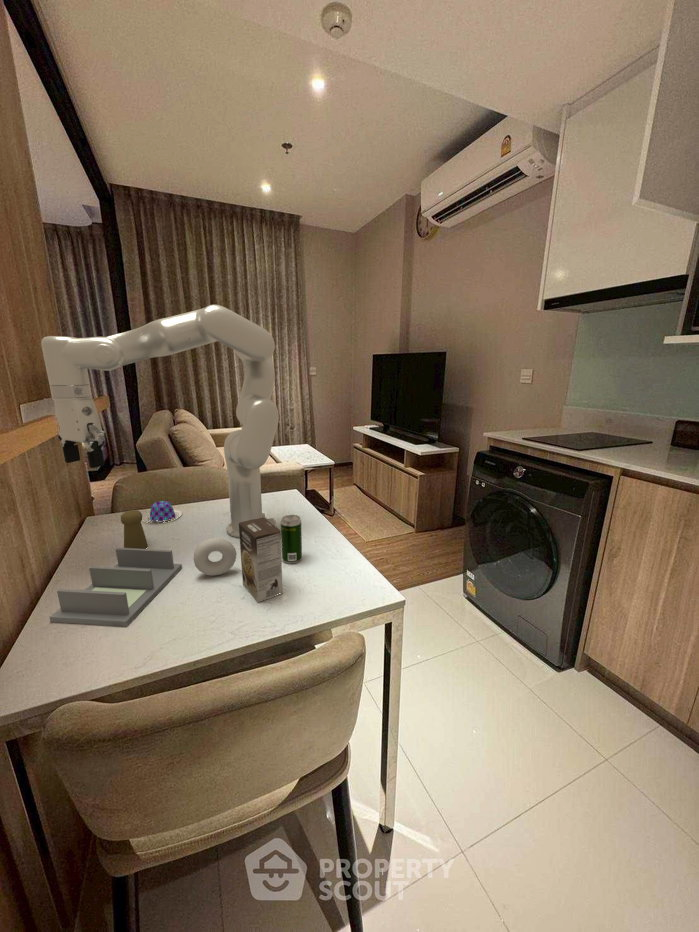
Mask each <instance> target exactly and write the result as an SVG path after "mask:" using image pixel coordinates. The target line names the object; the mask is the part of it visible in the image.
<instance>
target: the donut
mask: <svg viewBox="0 0 699 932" xmlns="http://www.w3.org/2000/svg"><path fill="white" fill-rule="evenodd" d="M236 550H237V549H236V547H235V546H234V544H233V542H231V541H230V540H228V539H226V538H224V537H211V538H207V539H205V540H203V541H202V542H200V544H198V546H197V547H196V549H195V550H194V553H193V563H194V566H195V567H196V569H197V570H198V571H199V572H201V573H202V574H204V575H208V576H219V575H223V574H225V573H226V572H228V571H230V570H231V569H232V568H233V567H234V564H235V562H236V559H237V554H238V553H237V551H236ZM214 552H219V553H220V554H221V557H222V558H220V560H217V561H213V560H211V559H210V558H209V557H210V554H211V553H214Z"/></svg>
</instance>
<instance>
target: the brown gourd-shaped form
mask: <svg viewBox="0 0 699 932" xmlns="http://www.w3.org/2000/svg"><path fill="white" fill-rule="evenodd" d="M142 522H143V514H142V512H141V511H140V510H137V509H133V510H126V511H125V512H123V513H122V514H121V515H120V523H121V524H122V525H123V548H137V549H146V548H147V547H148V548H149V543H148V540H147V538H146V535H145V531H144V527H143V525H142ZM148 548H147V549H148Z"/></svg>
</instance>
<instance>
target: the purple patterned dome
mask: <svg viewBox="0 0 699 932" xmlns="http://www.w3.org/2000/svg"><path fill="white" fill-rule="evenodd" d="M175 512H178V513H179V517H177V518H176V519H174V518H172V517H175V516H176V515H175ZM182 512H183V511H181V510H178V509H174V508H173V505H172V503H171V502H170V501H167V500H160V501H156V502H154V503H153V504H151V506H150V517H149V518H150V519H151V520H153V521H156V520H158V521H163V520H169V519H171V518H172V519H174V520H172V519H171V521H168V522H172V521H175V520H177V519H179V518H180V517H181V516H183V515H182V514H183V513H182ZM151 520H150V521H151ZM142 522H145V521H144V520H143V519H142ZM168 522H167V523H168ZM145 523H147V524H149V523H148V522H145ZM164 523H166V522H165V521H164V522H163V523H162V524H164Z"/></svg>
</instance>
